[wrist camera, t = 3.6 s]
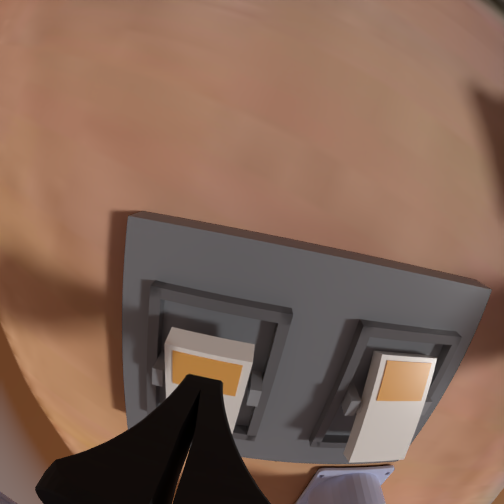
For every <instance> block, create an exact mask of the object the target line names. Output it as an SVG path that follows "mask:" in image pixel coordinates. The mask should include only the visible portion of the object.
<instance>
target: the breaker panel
mask: <svg viewBox="0 0 504 504" xmlns="http://www.w3.org/2000/svg"><path fill="white" fill-rule="evenodd" d="M491 291H492V290H491V289H490V288H488V287H487V286H485V285H483V284H482V283H480V282H478V281H477V280H474V279H470V278H466V277H462V276H457V275H453V274H449V273H445V272H440V271H436V270H432V269H427V268H423V267H418V266H414V265H410V264H405V263H401V262H396V261H392V260H387V259H383V258H378V257H373V256H369V255H364V254H360V253H355V252H350V251H346V250H341V249H336V248H331V247H327V246H322V245H317V244H312V243H307V242H303V241H298V240H293V239H288V238H283V237H278V236H273V235H268V234H263V233H258V232H253V231H248V230H243V229H237V228H232V227H227V226H222V225H217V224H211V223H206V222H201V221H195V220H190V219H185V218H179V217H174V216H168V215H163V214H157V213H152V212H146V211H141V212H138V213H135V214H132V215H129V216H128V221H127V231H126V243H125V256H124V273H123V299H122V350H123V375H124V392H125V405H126V416H127V425H128V429H130V428H131V427H133V426H134V425H136V424H137V423H139V422H140V421H141V420H143V419H144V418H145V417H146V416H148V415H149V414H150V413H151V412H152V411H153V410H155V409H156V408H157V407H158V406H159V405H160V404H161V403H162V402H163V401H164V400H165V399H166V384H165V345H164V344H165V341H166V339H167V337H168V334H169V332H170V330H171V328H172V327H175V328H179V329H183V330H187V331H192V332H196V333H201V334H205V335H210V336H215V337H219V338H224V339H229V340H234V341H240V342H245V343H250V344H255V348H254V357H253V364H252V367H251V371H250V375H249V378H248V382H247V385H246V389H245V394H244V397H243V399H242V403H241V406H240V410H239V413H238V417H237V420H236V423H235V427H234V430H233V434H232V436H233V439H234V441H235V444H236V446H237V449H238V451H239V453H240V456H241V457H246V458H254V459H262V460H271V461H281V462H294V463H313V464H363V463H381V462H394V461H398V460H391V461H378V462H355V463H349V462H348V460H347V459H346V457H345V455H344V454H343V453H344V450H345V447H346V445H347V442H348V439H349V436H350V433H351V430H352V427H353V424H354V421H355V418H356V414H357V413H355V412H356V411H357V409H358V407H359V405H360V403H361V400H360V398H362V394H363V391H364V387H365V383H366V380H367V376H368V372H369V368H370V364H371V360H372V356H373V351H374V350H375V351H385V352H396V353H408V354H421V355H429V356H432V357H434V358H437V361H436V365H435V369H434V373H433V376H432V380H431V384H430V387H429V391H428V394H427V397H426V400H425V404H424V407H423V410H422V413H421V416H420V419H419V422H418V424H417V427H416V430H415V433H414V435H413V438H412V440H411V443H412V442H413V440H414V439H415V438H416V436H417V435H418V433H419V432H420V430H421V429H422V427H423V426H424V425H425V423H426V422H427V420H428V418H429V417H430V415H431V414H432V412H433V411H434V409H435V407H436V406H437V404H438V403H439V401H440V399H441V398H442V396H443V394H444V393H445V391H446V389H447V387H448V386H449V384H450V382H451V380H452V378H453V377H454V375H455V373H456V371H457V369H458V367H459V365H460V363H461V361H462V359H463V357H464V355H465V353H466V351H467V349H468V347H469V345H470V343H471V340H472V338H473V336H474V334H475V331H476V329H477V327H478V324H479V322H480V320H481V317H482V315H483V312H484V310H485V307H486V305H487V302H488V299H489V296H490V294H491ZM411 443H410V444H411ZM190 447H191V446H190Z"/></svg>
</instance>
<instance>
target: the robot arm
mask: <svg viewBox="0 0 504 504" xmlns="http://www.w3.org/2000/svg"><path fill="white" fill-rule="evenodd" d="M190 446H191V447H190ZM189 448H190V450H189ZM188 451H189V454H188ZM187 454H188V457H187V460H186V464H185V467H184V470H183V473H182V476H181V479H180V483H179V486H178V489H177V492H176V495H175V498H174V501H173V497H174V492H175V488H176V485H177V481H178V478H179V475H180V473H181V470H182V467H183V465H184V462H185V459H186V456H187ZM393 471H394V466H393V465H389V466H377V467H357V468H321V469H319V470H318V471H317V472H316V474H315V475H314V477H313V478H312V480H311V481H310V483H309V484H308V486H307V487H306V489H305V490H304V492H303V493H302V495H301V496H300V497H299V499H298V500H297V502H296V503H295V504H386V503H385V499H384V496H383V492H382V489H381V485H382V483H383V482H384V481H385V480H386V479H387V478H388V476H389V475H390V474H391V473H392V472H393ZM35 488H36V489H35V490H36V493H37V495H38V497H39V498H40V500H41V501H42V502H43V503H44V504H172V501H173V504H271V503H270V502H269V501H268V500H267V498H266V497H265V496H264V494H263V493H262V492H261V490H260V489H259V487H258V486H257V484H256V482H255V481H254V479H253V478H252V476H251V474H250V473H249V471H248V469H247V468H246V466H245V464H244V462H243V460H242V458H241V456H240V453H239V451H238V449H237V446H236V444H235V441H234V439H233V436H232V433H231V430H230V426H229V423H228V419H227V415H226V411H225V406H224V399H223V382H222V381H221V380H216V379H211V378H207V377H202V376H198V375H193V374H188V375H186V376H185V378H184V379H183V380H182V382H181V383H180V384H179V385H178V387H177V388H176V389H175V390H174V391H173V392H172V393H171V394H170V395H169V396H168V397H167V398H166V399H165V400H164V401H163V402H162V403H161V404H160V405H159V406H158V407H157V408H156V409H155V410H153V411H152V412H151V413H150V414H149V415H148V416H146V417H145V418H144V419H143V420H141V421H140V422H139V423H137V424H136V425H134V426H133V427H131V428H130V429H128V430H127V431H125V432H123V433H122V434H120V435H118V436H117V437H115V438H113V439H111V440H109V441H107V442H105V443H103V444H101V445H98V446H96V447H94V448H91V449H89V450H86V451H84V452H81V453H78V454H75V455H71V456H68V457H64V458H61V459H57V460H55V461H54V462H53V463H52V464H51V466H50V467H49V468H48V469H47V470H46V471H45V473H44V474H43V476H42V478H41V479H40V481H39V482H38V484H37V486H36V487H35ZM0 504H17V503H16V502H14V501H13V500H11V499H10V498H8V497H7V496H6V495H4V494H3V493H1V492H0Z"/></svg>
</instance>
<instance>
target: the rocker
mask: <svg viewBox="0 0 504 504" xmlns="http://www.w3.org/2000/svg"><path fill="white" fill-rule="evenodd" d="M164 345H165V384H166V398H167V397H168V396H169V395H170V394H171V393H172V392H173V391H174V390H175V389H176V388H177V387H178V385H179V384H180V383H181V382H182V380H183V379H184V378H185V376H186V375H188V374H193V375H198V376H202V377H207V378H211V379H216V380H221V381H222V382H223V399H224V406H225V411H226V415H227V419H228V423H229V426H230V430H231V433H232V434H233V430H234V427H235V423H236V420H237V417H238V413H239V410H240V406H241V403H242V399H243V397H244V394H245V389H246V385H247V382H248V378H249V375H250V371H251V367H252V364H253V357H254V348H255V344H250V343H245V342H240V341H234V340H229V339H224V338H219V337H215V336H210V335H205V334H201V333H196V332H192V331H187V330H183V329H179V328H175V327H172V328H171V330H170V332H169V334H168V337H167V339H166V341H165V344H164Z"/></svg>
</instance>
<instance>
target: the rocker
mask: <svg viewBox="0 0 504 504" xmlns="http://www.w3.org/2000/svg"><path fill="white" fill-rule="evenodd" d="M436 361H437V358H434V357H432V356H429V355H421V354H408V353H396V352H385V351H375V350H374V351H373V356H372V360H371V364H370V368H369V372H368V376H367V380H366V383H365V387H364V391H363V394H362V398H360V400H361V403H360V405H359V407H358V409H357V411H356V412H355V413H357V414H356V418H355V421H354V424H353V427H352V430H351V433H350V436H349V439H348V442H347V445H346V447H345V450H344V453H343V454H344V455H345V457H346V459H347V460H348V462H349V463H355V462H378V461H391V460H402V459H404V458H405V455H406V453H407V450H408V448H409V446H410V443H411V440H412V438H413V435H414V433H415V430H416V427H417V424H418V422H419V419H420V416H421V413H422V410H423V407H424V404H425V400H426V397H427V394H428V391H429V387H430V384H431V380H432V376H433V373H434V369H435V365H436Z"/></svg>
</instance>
